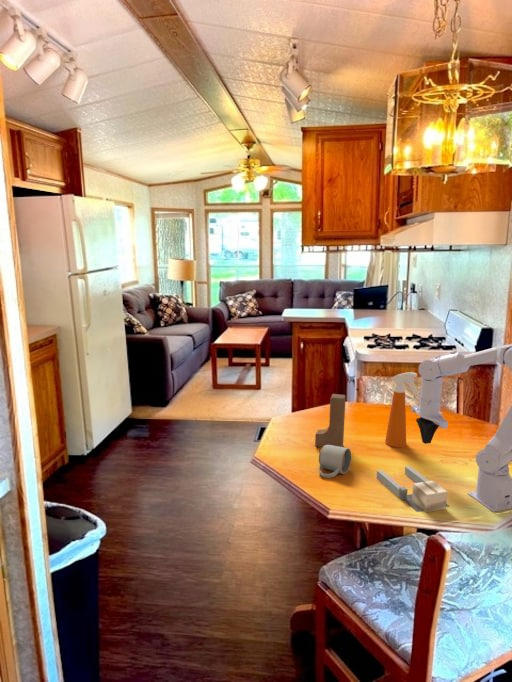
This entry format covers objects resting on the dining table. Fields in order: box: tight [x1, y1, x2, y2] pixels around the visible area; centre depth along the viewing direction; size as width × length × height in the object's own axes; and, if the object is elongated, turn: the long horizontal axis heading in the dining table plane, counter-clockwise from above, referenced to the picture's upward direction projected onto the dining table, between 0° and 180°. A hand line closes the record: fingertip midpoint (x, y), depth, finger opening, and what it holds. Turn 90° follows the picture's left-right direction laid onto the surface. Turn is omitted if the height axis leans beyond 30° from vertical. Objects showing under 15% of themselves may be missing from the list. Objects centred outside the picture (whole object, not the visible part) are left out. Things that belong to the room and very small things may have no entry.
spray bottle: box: [384, 371, 420, 448], centre depth 162 cm, size 7×11×26 cm, turn 46°
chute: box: [376, 465, 430, 501], centre depth 136 cm, size 13×11×3 cm
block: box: [411, 480, 448, 513], centre depth 126 cm, size 6×6×5 cm
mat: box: [403, 493, 450, 513], centre depth 128 cm, size 8×10×1 cm
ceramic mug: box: [318, 445, 352, 479], centre depth 144 cm, size 11×8×8 cm
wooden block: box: [314, 393, 347, 448], centre depth 162 cm, size 9×4×18 cm, turn 72°
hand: (426, 442), depth 142 cm, fingers closed
